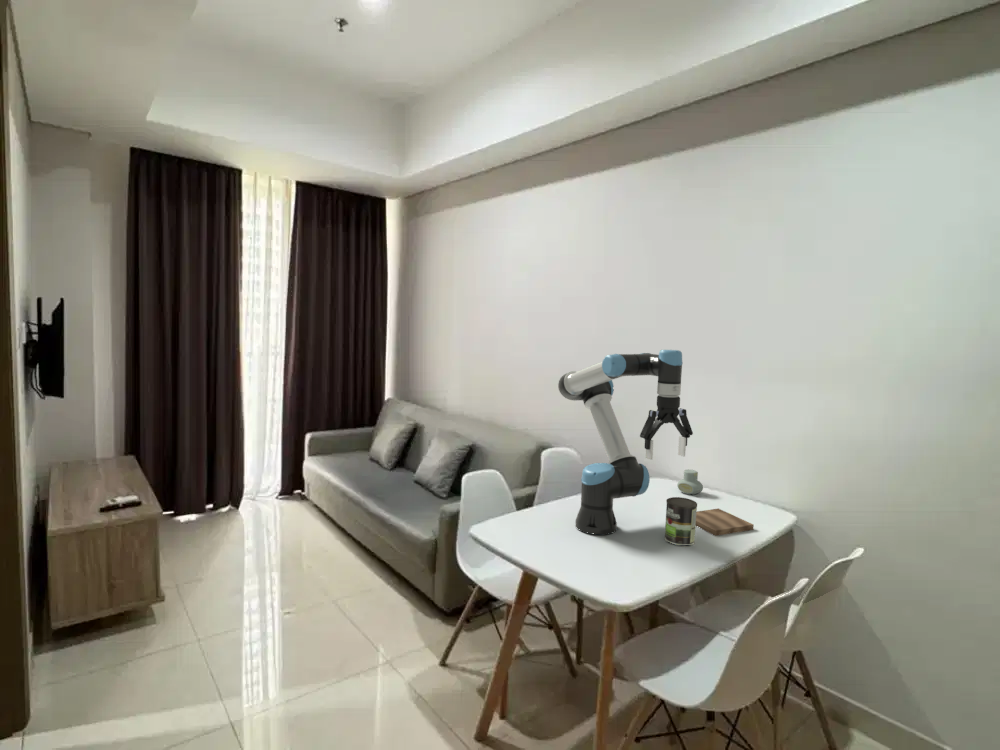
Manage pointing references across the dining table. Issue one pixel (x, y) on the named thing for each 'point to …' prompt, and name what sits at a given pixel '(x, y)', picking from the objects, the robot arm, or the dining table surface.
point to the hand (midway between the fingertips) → (665, 457)
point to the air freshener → (690, 483)
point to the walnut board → (721, 522)
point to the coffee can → (680, 521)
